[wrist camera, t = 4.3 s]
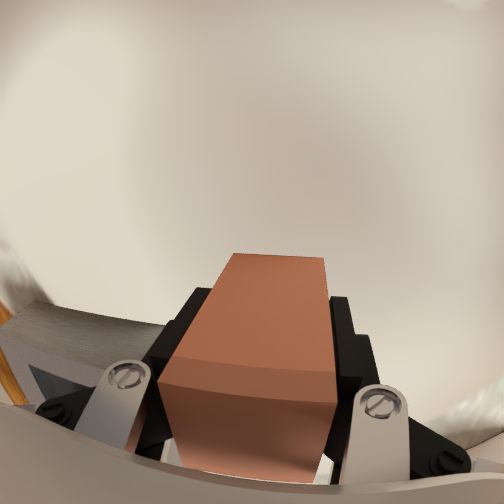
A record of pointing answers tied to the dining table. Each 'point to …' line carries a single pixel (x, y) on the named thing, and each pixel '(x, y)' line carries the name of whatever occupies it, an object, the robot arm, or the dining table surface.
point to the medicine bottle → (489, 450)
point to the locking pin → (256, 372)
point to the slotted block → (71, 351)
